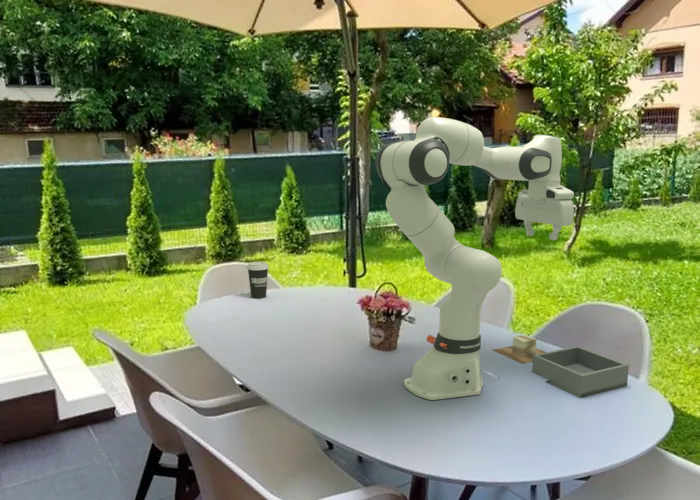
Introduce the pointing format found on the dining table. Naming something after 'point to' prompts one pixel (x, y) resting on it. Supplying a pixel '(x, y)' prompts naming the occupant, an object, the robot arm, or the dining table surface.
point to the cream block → (524, 345)
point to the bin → (580, 371)
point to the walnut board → (508, 353)
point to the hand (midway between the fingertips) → (541, 237)
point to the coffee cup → (258, 279)
